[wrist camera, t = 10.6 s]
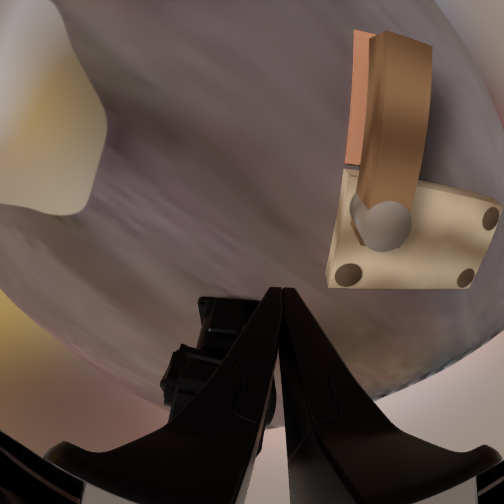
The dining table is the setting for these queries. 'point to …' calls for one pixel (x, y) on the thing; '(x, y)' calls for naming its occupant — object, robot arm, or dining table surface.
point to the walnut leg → (392, 140)
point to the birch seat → (417, 241)
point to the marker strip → (358, 97)
